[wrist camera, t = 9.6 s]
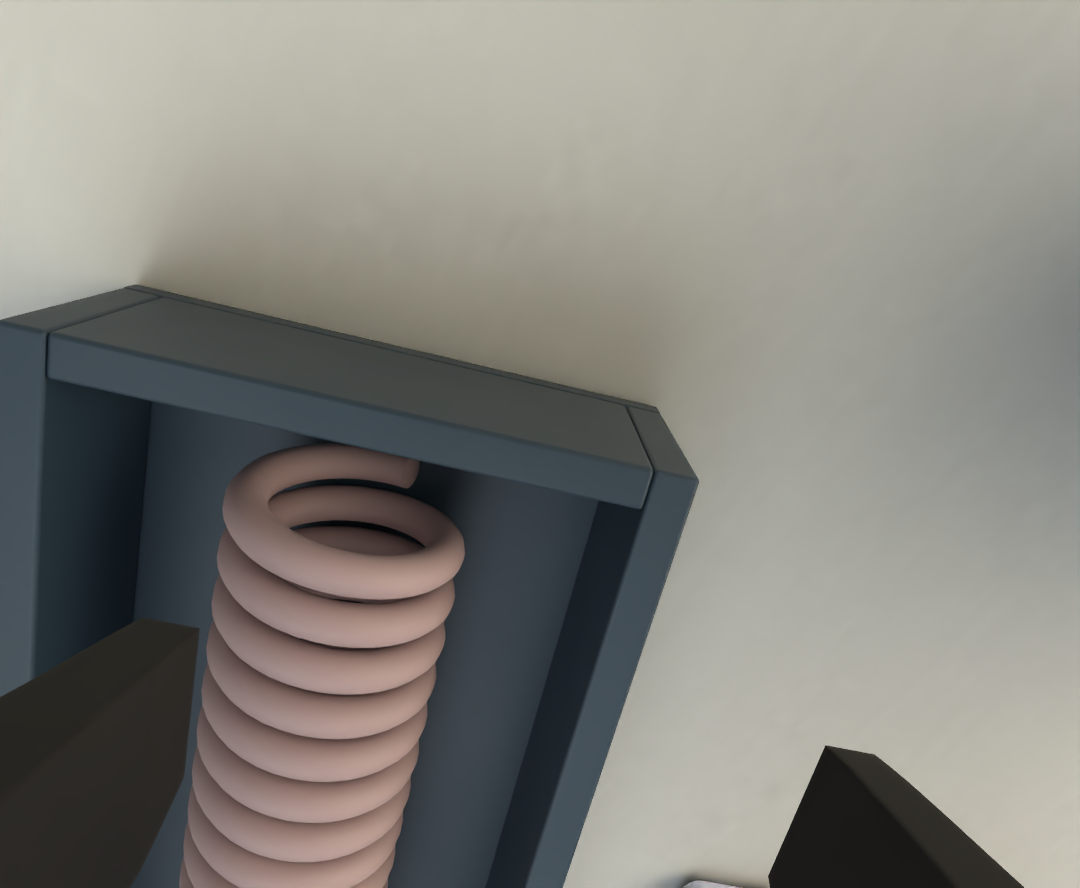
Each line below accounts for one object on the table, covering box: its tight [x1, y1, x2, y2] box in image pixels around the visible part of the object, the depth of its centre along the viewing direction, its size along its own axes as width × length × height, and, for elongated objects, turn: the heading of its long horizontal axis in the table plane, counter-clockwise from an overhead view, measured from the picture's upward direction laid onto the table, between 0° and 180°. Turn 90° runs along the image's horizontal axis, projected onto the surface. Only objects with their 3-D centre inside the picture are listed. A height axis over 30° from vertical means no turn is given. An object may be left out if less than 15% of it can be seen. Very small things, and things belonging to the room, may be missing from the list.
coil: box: [179, 443, 465, 888], centre depth 17 cm, size 5×5×18 cm
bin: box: [0, 285, 699, 888], centre depth 18 cm, size 12×22×4 cm, turn 166°
